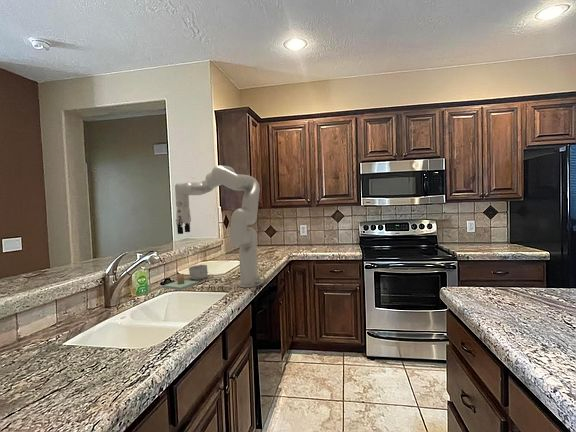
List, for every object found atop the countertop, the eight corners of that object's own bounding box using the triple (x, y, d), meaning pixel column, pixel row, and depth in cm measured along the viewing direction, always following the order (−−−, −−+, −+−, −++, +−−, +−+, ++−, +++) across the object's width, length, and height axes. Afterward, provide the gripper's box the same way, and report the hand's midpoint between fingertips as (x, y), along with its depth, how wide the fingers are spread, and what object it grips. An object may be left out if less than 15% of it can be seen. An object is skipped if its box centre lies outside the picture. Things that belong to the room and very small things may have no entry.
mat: (203, 283, 189) (203, 282, 189) (180, 291, 174) (180, 290, 174) (181, 281, 197) (181, 280, 197) (158, 288, 182) (158, 287, 182)
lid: (198, 283, 188) (197, 272, 188) (180, 288, 177) (179, 278, 176) (181, 281, 194) (180, 271, 194) (163, 286, 183) (162, 276, 183)
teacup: (202, 281, 194) (202, 268, 193) (185, 281, 196) (185, 268, 195) (213, 276, 207) (212, 263, 207) (197, 275, 209) (196, 263, 209)
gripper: (182, 204, 188) (183, 234, 189) (194, 203, 205) (195, 231, 206) (169, 204, 189) (171, 234, 190) (182, 204, 206) (184, 231, 207)
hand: (184, 232), depth 198 cm, fingers open, 9 cm apart
